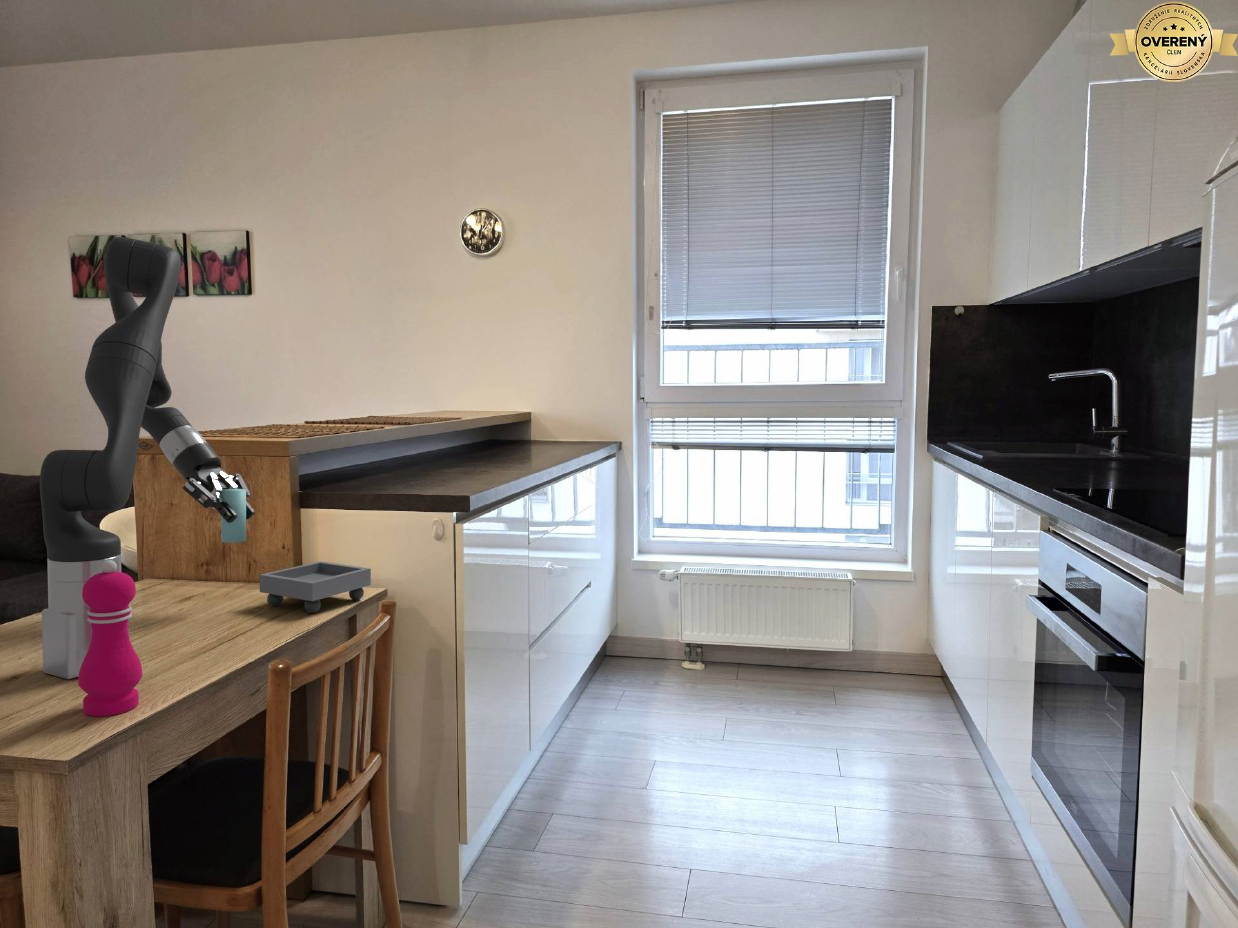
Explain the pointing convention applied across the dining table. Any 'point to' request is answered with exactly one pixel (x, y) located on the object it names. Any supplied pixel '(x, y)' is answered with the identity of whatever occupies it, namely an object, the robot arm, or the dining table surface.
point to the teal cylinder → (238, 526)
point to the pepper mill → (109, 645)
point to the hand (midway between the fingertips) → (242, 518)
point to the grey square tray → (314, 583)
